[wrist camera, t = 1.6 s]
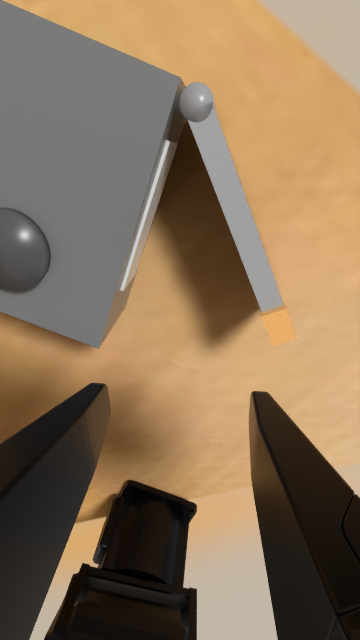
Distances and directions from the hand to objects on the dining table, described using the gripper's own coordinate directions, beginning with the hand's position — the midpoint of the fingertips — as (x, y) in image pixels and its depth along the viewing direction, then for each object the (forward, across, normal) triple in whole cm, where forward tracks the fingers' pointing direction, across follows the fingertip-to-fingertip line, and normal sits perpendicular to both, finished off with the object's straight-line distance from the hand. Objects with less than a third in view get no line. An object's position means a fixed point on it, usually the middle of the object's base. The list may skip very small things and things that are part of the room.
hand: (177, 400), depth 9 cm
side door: (+11, -2, -3) cm, 12 cm away
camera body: (+12, +6, -4) cm, 14 cm away
